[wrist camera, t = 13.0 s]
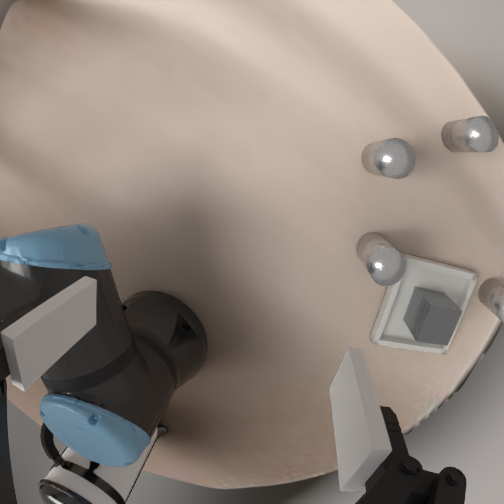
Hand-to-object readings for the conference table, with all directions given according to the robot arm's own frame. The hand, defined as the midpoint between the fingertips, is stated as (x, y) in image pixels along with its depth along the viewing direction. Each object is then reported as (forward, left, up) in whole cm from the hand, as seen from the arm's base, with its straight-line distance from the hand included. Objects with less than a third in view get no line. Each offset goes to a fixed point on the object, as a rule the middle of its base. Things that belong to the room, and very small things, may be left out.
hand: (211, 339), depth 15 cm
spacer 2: (+1, -14, -26) cm, 30 cm away
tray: (-5, -24, -26) cm, 36 cm away
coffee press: (-38, +18, -26) cm, 50 cm away
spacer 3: (+18, -22, -26) cm, 38 cm away
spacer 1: (+12, -12, -26) cm, 31 cm away
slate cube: (-5, -24, -26) cm, 35 cm away
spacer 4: (-1, -35, -26) cm, 44 cm away
